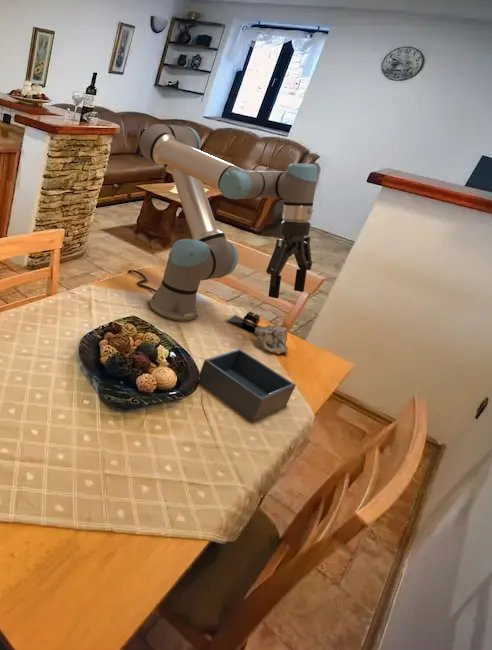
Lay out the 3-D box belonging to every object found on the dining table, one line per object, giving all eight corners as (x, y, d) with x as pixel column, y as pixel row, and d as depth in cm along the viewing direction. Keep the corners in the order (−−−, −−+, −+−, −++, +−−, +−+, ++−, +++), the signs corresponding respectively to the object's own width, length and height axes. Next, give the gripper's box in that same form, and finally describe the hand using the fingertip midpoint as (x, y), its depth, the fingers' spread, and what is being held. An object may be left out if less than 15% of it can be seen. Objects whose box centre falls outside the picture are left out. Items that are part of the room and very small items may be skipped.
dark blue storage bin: (196, 381, 131) (204, 359, 128) (231, 368, 140) (239, 348, 136) (252, 422, 119) (262, 399, 116) (285, 406, 128) (296, 384, 125)
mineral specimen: (263, 365, 154) (272, 345, 161) (288, 361, 148) (297, 340, 154) (248, 340, 152) (258, 322, 158) (272, 335, 146) (282, 316, 152)
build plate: (270, 332, 164) (275, 319, 162) (262, 339, 159) (267, 326, 157) (235, 316, 171) (239, 304, 168) (226, 322, 165) (231, 310, 163)
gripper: (284, 224, 131) (274, 302, 137) (331, 219, 146) (320, 290, 152) (258, 222, 137) (250, 297, 143) (306, 217, 151) (296, 286, 157)
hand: (286, 294), depth 147 cm, fingers open, 13 cm apart
